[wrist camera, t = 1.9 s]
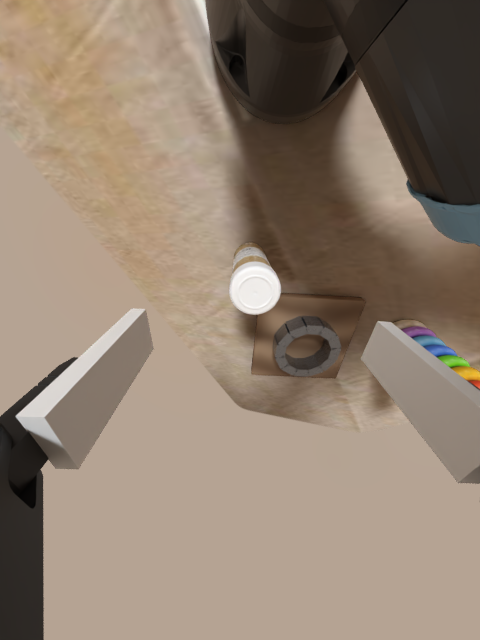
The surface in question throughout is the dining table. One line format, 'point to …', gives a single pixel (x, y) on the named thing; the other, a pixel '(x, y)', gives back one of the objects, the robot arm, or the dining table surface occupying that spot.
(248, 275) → the sprinkles bottle
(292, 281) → the dining table surface
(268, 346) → the base board
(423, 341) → the stacking toy
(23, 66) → the dining table surface
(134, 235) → the dining table surface
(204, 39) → the dining table surface
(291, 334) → the collar
